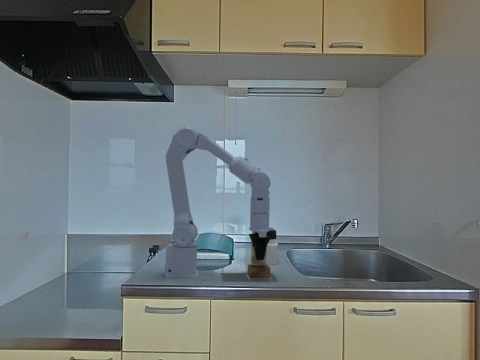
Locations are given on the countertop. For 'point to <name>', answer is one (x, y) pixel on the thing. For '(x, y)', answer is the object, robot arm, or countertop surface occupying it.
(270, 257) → the medicine bottle
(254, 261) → the maple block
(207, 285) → the countertop surface
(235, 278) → the mat
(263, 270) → the walnut base
